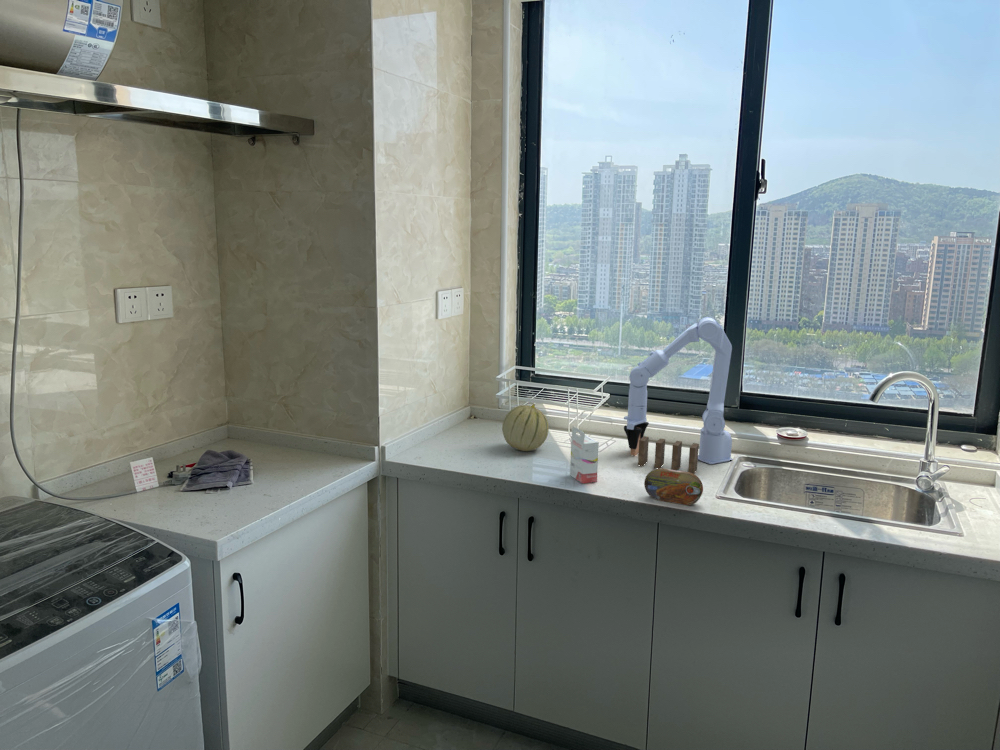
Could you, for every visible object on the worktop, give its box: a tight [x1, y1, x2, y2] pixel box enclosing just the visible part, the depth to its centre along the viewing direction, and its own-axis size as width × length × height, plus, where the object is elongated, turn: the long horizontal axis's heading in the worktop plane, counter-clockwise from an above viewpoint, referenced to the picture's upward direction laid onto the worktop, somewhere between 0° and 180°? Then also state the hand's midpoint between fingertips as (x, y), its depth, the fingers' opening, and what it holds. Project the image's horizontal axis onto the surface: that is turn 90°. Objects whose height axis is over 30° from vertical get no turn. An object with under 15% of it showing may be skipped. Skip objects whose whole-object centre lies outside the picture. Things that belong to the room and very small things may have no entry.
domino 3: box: [653, 438, 666, 469], centre depth 220 cm, size 2×5×8 cm, turn 154°
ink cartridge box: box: [569, 425, 600, 484], centre depth 208 cm, size 9×5×15 cm, turn 20°
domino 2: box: [637, 435, 650, 467], centre depth 222 cm, size 2×5×8 cm, turn 154°
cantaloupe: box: [501, 403, 550, 452], centre depth 234 cm, size 15×15×15 cm
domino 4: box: [670, 440, 683, 471], centre depth 218 cm, size 2×5×8 cm, turn 154°
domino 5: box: [687, 442, 700, 474], centre depth 216 cm, size 2×5×8 cm, turn 154°
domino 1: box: [629, 427, 641, 457], centre depth 232 cm, size 2×5×8 cm, turn 154°
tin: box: [643, 467, 704, 506], centre depth 192 cm, size 15×3×8 cm, turn 62°
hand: (635, 446), depth 233 cm, fingers closed on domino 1, 5 cm apart
